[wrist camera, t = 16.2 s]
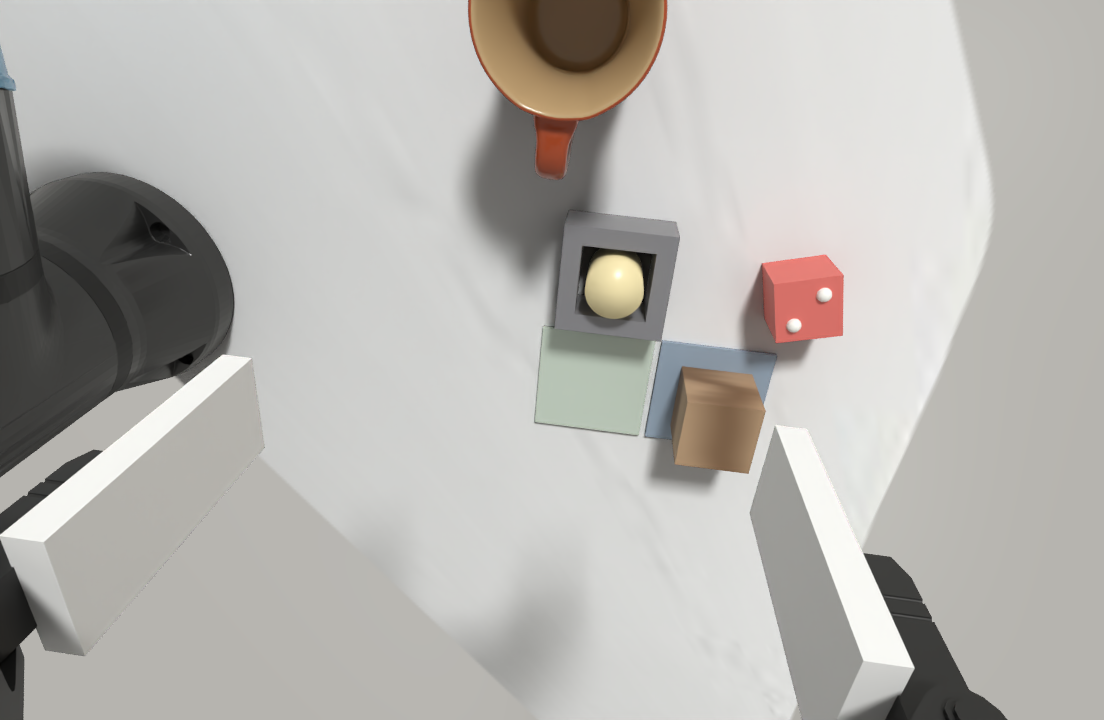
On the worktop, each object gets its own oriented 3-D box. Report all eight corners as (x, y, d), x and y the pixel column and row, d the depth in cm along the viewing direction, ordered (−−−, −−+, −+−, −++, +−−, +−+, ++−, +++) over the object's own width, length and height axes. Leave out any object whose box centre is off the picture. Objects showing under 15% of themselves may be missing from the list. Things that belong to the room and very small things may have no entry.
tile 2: (645, 434, 50) (645, 436, 50) (662, 340, 46) (662, 342, 46) (750, 447, 49) (750, 449, 49) (776, 354, 46) (776, 356, 45)
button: (585, 292, 44) (581, 315, 41) (591, 241, 43) (588, 260, 39) (638, 298, 44) (639, 322, 41) (646, 247, 42) (648, 267, 39)
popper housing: (559, 308, 46) (554, 328, 43) (569, 209, 43) (564, 224, 39) (658, 320, 45) (660, 341, 42) (676, 222, 42) (680, 237, 39)
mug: (513, -84, 36) (475, -122, 27) (672, -61, 35) (688, -91, 26) (494, 142, 41) (456, 175, 32) (631, 164, 41) (632, 203, 32)
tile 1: (535, 419, 50) (534, 421, 50) (543, 325, 47) (543, 327, 46) (638, 433, 50) (638, 435, 50) (655, 339, 46) (655, 341, 46)
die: (764, 318, 45) (777, 346, 41) (761, 263, 43) (775, 286, 39) (825, 310, 44) (844, 338, 40) (825, 254, 42) (845, 277, 38)
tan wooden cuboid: (670, 424, 49) (674, 464, 44) (681, 366, 47) (687, 401, 42) (737, 432, 49) (748, 473, 44) (752, 374, 46) (765, 411, 42)
